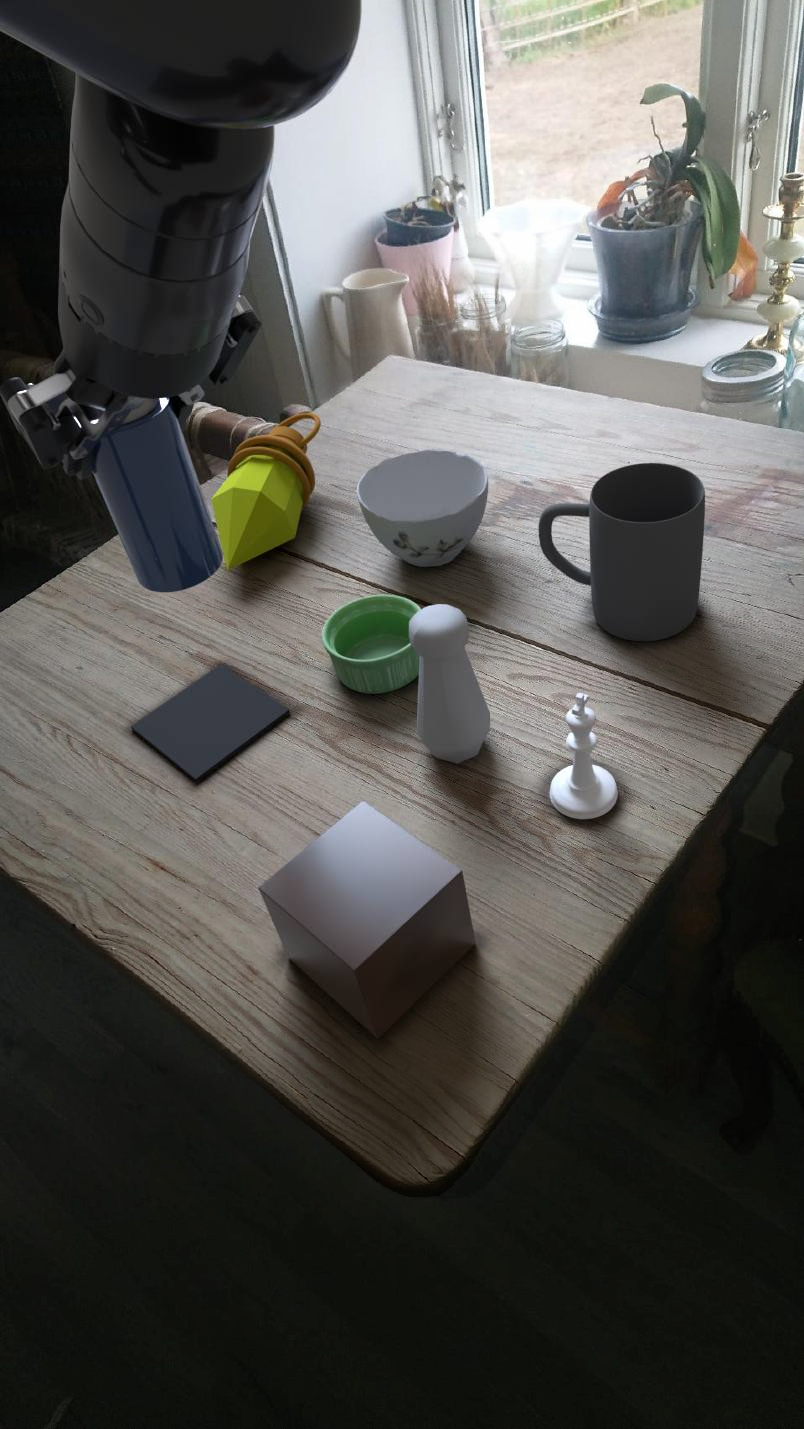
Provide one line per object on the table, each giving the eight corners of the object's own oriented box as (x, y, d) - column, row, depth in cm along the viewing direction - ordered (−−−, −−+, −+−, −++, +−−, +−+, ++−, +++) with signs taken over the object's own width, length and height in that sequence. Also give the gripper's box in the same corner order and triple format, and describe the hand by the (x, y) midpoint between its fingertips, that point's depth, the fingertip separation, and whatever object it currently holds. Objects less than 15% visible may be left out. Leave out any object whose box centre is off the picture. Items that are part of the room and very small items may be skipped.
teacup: (483, 590, 91) (475, 518, 86) (356, 588, 95) (340, 518, 89) (507, 501, 101) (501, 431, 96) (392, 502, 105) (379, 435, 99)
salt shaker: (422, 721, 80) (397, 595, 71) (492, 715, 79) (476, 587, 70) (420, 774, 76) (394, 647, 67) (494, 768, 75) (477, 639, 66)
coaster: (197, 782, 79) (195, 779, 79) (131, 729, 85) (130, 726, 85) (290, 712, 83) (289, 709, 83) (222, 667, 89) (220, 663, 89)
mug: (705, 583, 87) (714, 464, 79) (690, 649, 81) (697, 528, 73) (555, 570, 92) (548, 456, 84) (530, 632, 86) (521, 516, 78)
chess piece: (628, 781, 72) (629, 682, 65) (600, 828, 69) (598, 730, 63) (567, 761, 74) (562, 663, 68) (538, 806, 72) (529, 709, 65)
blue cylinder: (168, 604, 59) (96, 422, 51) (121, 573, 62) (45, 397, 54) (240, 559, 62) (182, 378, 53) (191, 531, 65) (129, 357, 57)
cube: (378, 1039, 60) (354, 971, 55) (287, 957, 66) (257, 887, 60) (476, 943, 64) (462, 870, 59) (383, 872, 70) (363, 799, 64)
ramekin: (440, 633, 88) (434, 594, 85) (420, 702, 82) (413, 663, 79) (346, 630, 90) (336, 593, 87) (319, 698, 84) (308, 659, 81)
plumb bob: (288, 596, 96) (352, 439, 111) (242, 528, 90) (316, 371, 105) (214, 608, 100) (286, 455, 115) (165, 543, 94) (247, 390, 109)
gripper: (240, 144, 45) (188, 341, 60) (-55, 253, 39) (-28, 439, 55) (331, 284, 45) (257, 443, 60) (52, 411, 39) (49, 551, 55)
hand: (122, 441), depth 57 cm, fingers closed on blue cylinder, 5 cm apart
